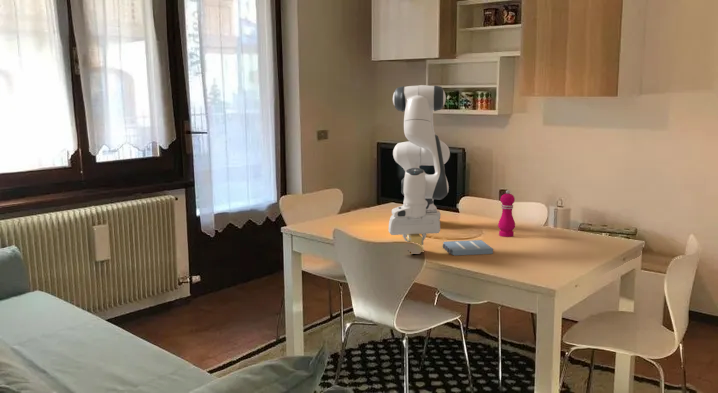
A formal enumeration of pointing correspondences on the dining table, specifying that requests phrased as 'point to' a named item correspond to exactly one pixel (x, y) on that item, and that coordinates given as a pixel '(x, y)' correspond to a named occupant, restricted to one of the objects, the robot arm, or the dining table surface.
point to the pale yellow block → (415, 238)
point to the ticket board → (467, 247)
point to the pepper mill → (506, 215)
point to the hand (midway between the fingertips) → (414, 244)
